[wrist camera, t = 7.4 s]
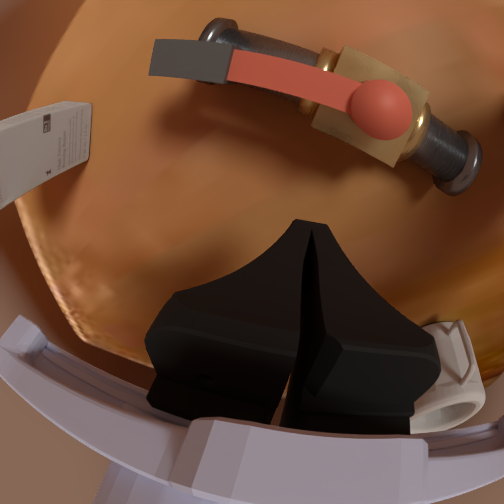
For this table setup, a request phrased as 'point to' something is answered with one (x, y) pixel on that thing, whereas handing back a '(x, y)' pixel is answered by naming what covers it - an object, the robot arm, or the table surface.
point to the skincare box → (42, 146)
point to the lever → (287, 82)
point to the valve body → (344, 127)
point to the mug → (450, 382)
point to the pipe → (426, 155)
